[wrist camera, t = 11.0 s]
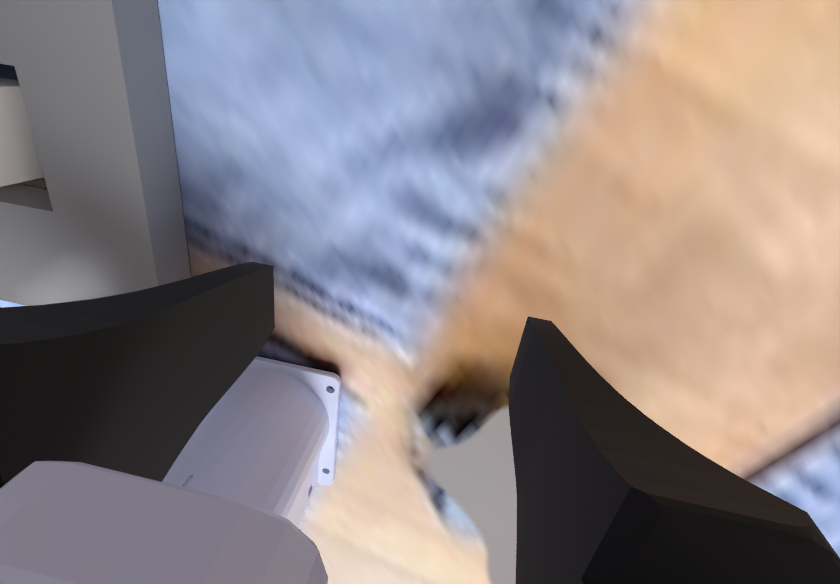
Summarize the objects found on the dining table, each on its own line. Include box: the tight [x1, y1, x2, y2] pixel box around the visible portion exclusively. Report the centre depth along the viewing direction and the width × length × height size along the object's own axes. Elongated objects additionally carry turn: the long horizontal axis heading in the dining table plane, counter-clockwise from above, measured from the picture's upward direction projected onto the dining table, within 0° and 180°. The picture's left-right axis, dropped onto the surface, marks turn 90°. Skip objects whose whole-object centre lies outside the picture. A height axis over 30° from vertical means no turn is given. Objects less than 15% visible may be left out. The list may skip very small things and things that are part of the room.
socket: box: [0, 0, 191, 306], centre depth 20 cm, size 18×16×2 cm
